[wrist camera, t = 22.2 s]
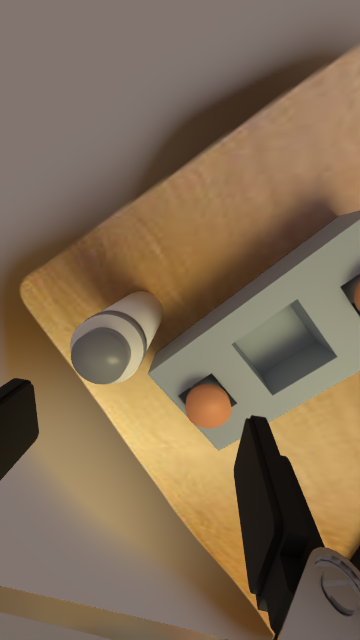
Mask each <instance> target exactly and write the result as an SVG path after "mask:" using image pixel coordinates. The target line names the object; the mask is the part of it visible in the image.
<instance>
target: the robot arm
mask: <svg viewBox="0 0 360 640" xmlns="http://www.w3.org/2000/svg"><path fill="white" fill-rule="evenodd" d="M38 434H39V429H38V420H37V411H36V403H35V394H34V387H33V385H32V384H31V382H30V381H29V380H24V379H18V378H14V379H12V380H10V381H9V382H8V383H6V384H5V385H3V386H2V387H0V480H1V479H2V478H3V477H4V476H5V475H6V473H7V472H8V471H9V470H10V469H11V468H12V467H13V465H14V464H15V463H16V462H17V461H18V460H19V459H20V458H21V456H22V455H23V454H24V453H25V452H26V451H27V450H28V449H29V447H30V446H31V445H32V444H33V443H34V442H35V440H36V439H37V437H38ZM234 479H235V487H236V494H237V502H238V509H239V516H240V524H241V531H242V539H243V546H244V554H245V561H246V569H247V576H248V584H249V589H250V592H251V593H252V594H256V600H257V607H258V610H262V611H266V612H268V616H269V621H270V627H271V628H272V630H273V631H274V633H275V634H274V637H273V639H272V640H360V572H359V570H358V569H357V568H356V567H355V566H354V565H353V564H352V563H351V562H350V561H349V560H348V559H347V558H345V557H344V556H342V555H341V554H340V553H338V552H336V551H334V550H332V549H329V548H325V546H324V544H323V542H322V539H321V537H320V534H319V532H318V529H317V527H316V524H315V522H314V519H313V517H312V514H311V512H310V510H309V507H308V505H307V502H306V500H305V497H304V495H303V492H302V490H301V487H300V485H299V483H298V480H297V478H296V475H295V473H294V470H293V468H292V465H291V463H290V461H289V459H288V458H287V457H286V456H281V455H280V453H279V450H278V447H277V445H276V442H275V439H274V437H273V434H272V431H271V429H270V426H269V423H268V421H267V419H266V417H261V416H254V415H251V417H250V419H249V418H246V420H245V423H244V427H243V432H242V436H241V440H240V444H239V448H238V452H237V457H236V461H235V465H234ZM0 640H227V639H223V638H219V637H215V636H211V635H207V634H204V633H200V632H196V631H192V630H188V629H184V628H180V627H177V626H172V625H169V624H164V623H160V622H156V621H152V620H147V619H143V618H139V617H134V616H130V615H126V614H121V613H117V612H113V611H108V610H104V609H100V608H96V607H91V606H87V605H83V604H78V603H74V602H69V601H65V600H60V599H56V598H51V597H47V596H43V595H38V594H34V593H29V592H25V591H20V590H16V589H11V588H7V587H2V586H0Z"/></svg>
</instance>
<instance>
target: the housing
mask: <svg viewBox="0 0 360 640" xmlns="http://www.w3.org/2000/svg"><path fill="white" fill-rule="evenodd" d="M359 274H360V211H357V212H353V213H349V214H345V215H342V216H338V217H337V218H336V219H334V220H333V221H332V222H330V223H329V224H328V225H326V226H325V227H324V228H322V229H321V230H319V231H318V232H317V233H315V234H314V235H313V236H311V237H310V238H309V239H307V240H306V241H305V242H303V243H302V244H301V245H299V246H298V247H297V248H295V249H294V250H293V251H291V252H290V253H289V254H287V255H286V256H285V257H283V258H282V259H281V260H279V261H278V262H277V263H275V264H274V265H273V266H271V267H270V268H269V269H267V270H266V271H265V272H263V273H262V274H261V275H259V276H258V277H257V278H255V279H254V280H253V281H251V282H250V283H249V284H247V285H246V286H245V287H243V288H242V289H241V290H239V291H238V292H237V293H235V294H234V295H233V296H231V297H230V298H229V299H227V300H226V301H225V302H223V303H222V304H221V305H219V306H218V307H217V308H215V309H214V310H213V311H211V312H210V313H209V314H207V315H206V316H205V317H203V318H202V319H201V320H199V321H198V322H197V323H195V324H194V325H193V326H191V327H190V328H189V329H187V330H186V331H185V332H183V333H182V334H181V335H179V336H178V337H177V338H175V339H174V340H173V341H171V342H170V343H169V344H167V345H166V346H165V347H163V348H162V349H161V350H159V351H158V352H157V353H156V354H155V357H154V359H153V362H152V364H151V367H150V369H149V372H148V375H149V376H150V377H151V378H152V379H153V380H154V382H155V383H156V384H157V385H158V386H159V387H160V388H161V389H162V390H163V391H164V392H165V393H166V394H167V396H168V397H169V398H170V399H171V400H172V401H173V402H174V403H175V404H176V405H177V406H178V407H179V408H180V410H181V411H182V412H183V413H184V414H185V415H186V410H185V407H186V398H187V395H188V393H189V392H190V391H191V390H192V389H193V385H194V384H196V383H197V382H199V381H200V380H202V379H203V378H205V377H206V376H208V375H209V374H211V373H212V374H213V375H214V376H215V378H216V379H217V380H218V381H219V385H220V387H221V388H222V389H223V390H224V391H225V392H226V393H227V395H228V397H229V400H230V404H231V414H230V417H229V419H228V420H227V421H226V422H225V423H224V424H222V425H221V426H219V427H215V428H202V427H199V426H197V425H195V424H194V425H195V426H196V427H197V428H198V429H199V430H200V431H201V432H202V433H203V434H204V435H205V437H206V438H207V439H208V440H209V441H210V442H211V443H212V444H213V445H214V446H215V447H216V448H217V449H218V451H219V450H221V449H223V448H225V447H226V446H228V445H230V444H232V443H233V442H235V441H237V440H239V439H240V438H241V436H242V432H243V427H244V423H245V420H246V418H249V419H250V417H251V415H254V416H261V417H266V419H267V421H268V423H269V422H270V421H272V420H274V419H276V418H278V417H279V416H281V415H283V414H285V413H286V412H288V411H290V410H292V409H293V408H295V407H297V406H299V405H301V404H302V403H304V402H306V401H308V400H309V399H311V398H313V397H315V396H316V395H318V394H320V393H322V392H324V391H325V390H327V389H329V388H331V387H332V386H334V385H336V384H338V383H339V382H341V381H343V380H345V379H346V378H348V377H350V376H352V375H354V374H355V373H357V372H359V371H360V311H359V310H358V309H357V307H356V305H355V303H352V302H350V301H349V300H348V298H347V297H346V295H345V294H344V292H343V290H342V289H341V286H342V285H344V284H345V283H347V282H348V281H350V280H351V279H353V278H354V277H356V276H357V275H359ZM186 416H187V415H186Z"/></svg>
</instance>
